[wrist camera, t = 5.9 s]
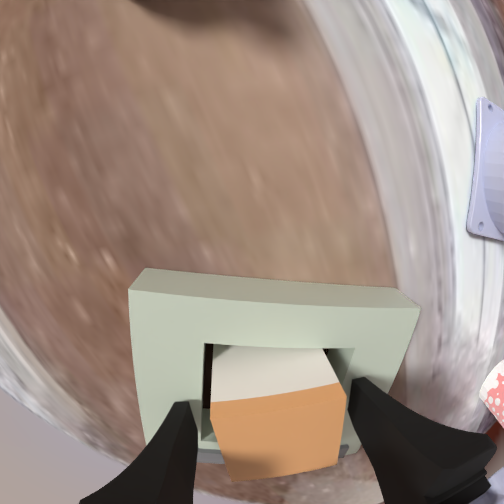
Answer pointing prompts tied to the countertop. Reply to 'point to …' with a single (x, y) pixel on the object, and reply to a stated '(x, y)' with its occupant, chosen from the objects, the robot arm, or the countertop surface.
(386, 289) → the socket plate
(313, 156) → the countertop surface
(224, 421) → the orange and white block
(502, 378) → the beverage cup
